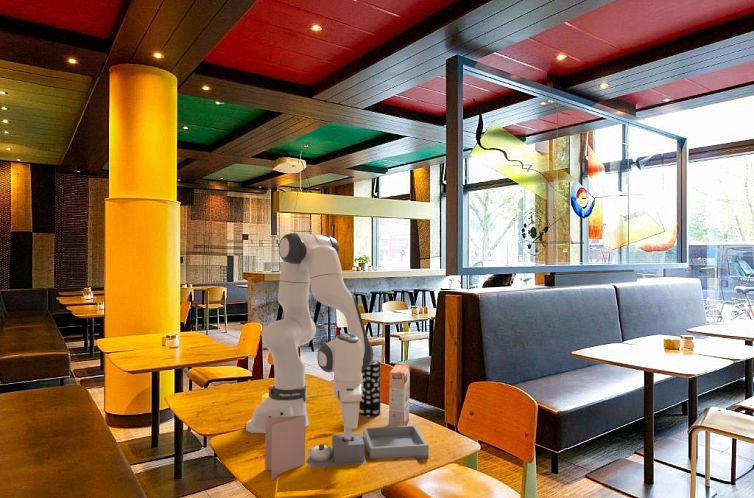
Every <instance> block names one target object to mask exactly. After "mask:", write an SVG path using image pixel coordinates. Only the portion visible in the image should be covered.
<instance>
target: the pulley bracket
mask: <svg viewBox="0 0 754 498" xmlns="http://www.w3.org/2000/svg"><path fill="white" fill-rule="evenodd" d="M331 441H332V442H331V446H329V445H326V444H323V443H320V444H318V445H315V446H313V447H312V448H311V449H307V468H319V467H320V468H321V467H337V466H339V467H340V466H353V465H354V466H355V465H367V460H366V457H365V441H364V438H363V434H362V433H361V432H355V433H353V432H352V441H346V442H344V433H336V434H333V433H332V435H331Z"/></svg>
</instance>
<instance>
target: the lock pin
mask: <svg viewBox="0 0 754 498" xmlns="http://www.w3.org/2000/svg"><path fill="white" fill-rule="evenodd" d="M341 425H342V427H343V434H344V442H346V441H352V436H351V437H346V435H345V427H344V423H343V421H342V422H341Z"/></svg>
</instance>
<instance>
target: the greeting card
mask: <svg viewBox="0 0 754 498" xmlns="http://www.w3.org/2000/svg"><path fill="white" fill-rule="evenodd" d="M305 419H306V416H289V417H269V418H266V425H265V433H264V435H265V438H264V439H265V440H264V441H265V443H264V444H265V446H264V452H265V454H264V456H265V457H264V458H265V459H264V460H265V461H264V470H265V471H271V472H270V473H271V478H270V480H271V479H272V480H275V479H277V477H278V478H279V477H280V474H282V473H284V472H287V471H290V470H293V469H295V468H298V467H301V466H303V465H306V427H305ZM274 478H275V479H274Z"/></svg>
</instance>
